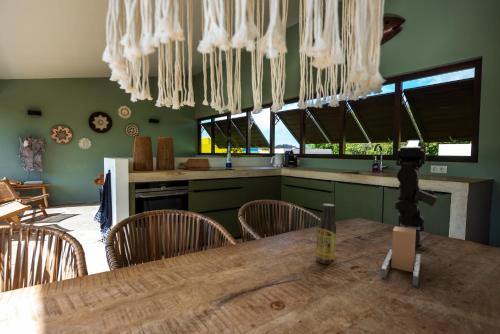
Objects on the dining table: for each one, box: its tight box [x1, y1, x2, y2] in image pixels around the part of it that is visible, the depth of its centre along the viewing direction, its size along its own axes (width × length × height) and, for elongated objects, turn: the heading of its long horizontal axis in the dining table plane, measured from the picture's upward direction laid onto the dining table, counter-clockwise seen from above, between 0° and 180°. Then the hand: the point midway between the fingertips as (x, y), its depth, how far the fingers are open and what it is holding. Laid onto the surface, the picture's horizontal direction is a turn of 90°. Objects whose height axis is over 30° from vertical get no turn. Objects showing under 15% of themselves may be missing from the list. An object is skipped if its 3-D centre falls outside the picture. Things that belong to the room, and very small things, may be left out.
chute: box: [380, 248, 422, 288], centre depth 86 cm, size 20×9×4 cm, turn 147°
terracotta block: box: [390, 226, 416, 273], centre depth 89 cm, size 6×6×12 cm
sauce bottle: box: [315, 203, 337, 265], centre depth 95 cm, size 6×6×20 cm
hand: (406, 226), depth 97 cm, fingers closed
